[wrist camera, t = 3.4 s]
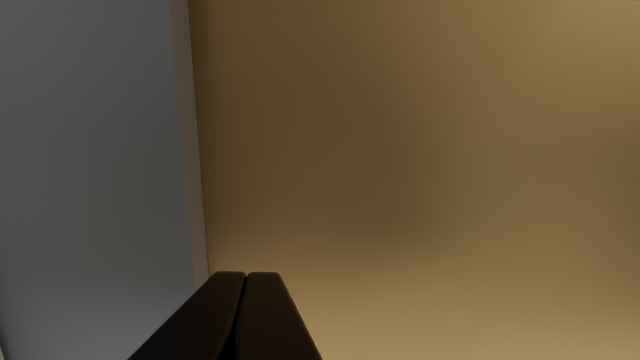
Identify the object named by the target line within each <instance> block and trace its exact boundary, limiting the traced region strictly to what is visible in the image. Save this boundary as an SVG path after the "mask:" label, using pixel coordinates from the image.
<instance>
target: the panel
mask: <svg viewBox="0 0 640 360" xmlns="http://www.w3.org/2000/svg"><path fill="white" fill-rule="evenodd" d="M0 360H4V357H3V354H2V351H1V347H0Z"/></svg>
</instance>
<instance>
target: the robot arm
mask: <svg viewBox="0 0 640 360" xmlns="http://www.w3.org/2000/svg"><path fill="white" fill-rule="evenodd" d="M127 360H323V359H322V357H321V355H320V353H319V351H318V349H317V347H316V345H315V343H314V341H313V339H312V337H311V335H310V333H309V331H308V330H307V328H306V326H305V324H304V322H303V320H302V318H301V316H300V314H299V312H298V310H297V308H296V306H295V304H294V302H293V300H292V298H291V296H290V294H289V292H288V290H287V288H286V286H285V284H284V282H283V280H282V278H281V276H280V275H279V274H278V273H276V272H251V273H249V274H248V276H247V275H246V273H244V272H235V271H218V272H216V273H214V274H213V275H212V276H211V277H210V278H209V279H208V280H207V281H206V282H205V283H204V284H203V285H202V286H201V287H200V288H199V289H198V290H197V291H196V292H195V293H193V294H192V295H191V296H190V297H189V298H188V299H187V300H186V301H185V302H184V303H183V304H182V305H181V306H180V307H179V308H178V309H177V310H176V311H175V312H174V313H173V314H172V315H171V316H170V317H169V318H168V319H167V320H166V321H165V322H164V323H163V324H162V325H161V326H160V327H159V328H158V329H157V330H156V331H155V332H154V333H153V334H152V335H151V336H150V337H149V338H148V339H147V340H146V341H145V342H144V343H143V344H142V345H141V346H140V347H139V348H138V349H137V350H136V351H135V352H134V353H133V354H132V355H131V356H130V357H129V358H128V359H127Z"/></svg>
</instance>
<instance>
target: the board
mask: <svg viewBox="0 0 640 360" xmlns="http://www.w3.org/2000/svg"><path fill="white" fill-rule="evenodd" d="M208 279H209V272H208V258H207V245H206V232H205V219H204V206H203V193H202V180H201V167H200V154H199V141H198V128H197V115H196V102H195V89H194V75H193V62H192V49H191V36H190V23H189V10H188V0H0V347H1V351H2V354H3V357H4V360H127V359H128V358H129V357H130V356H131V355H132V354H133V353H134V352H135V351H136V350H137V349H138V348H139V347H140V346H141V345H142V344H143V343H144V342H145V341H146V340H147V339H148V338H149V337H150V336H151V335H152V334H153V333H154V332H155V331H156V330H157V329H158V328H159V327H160V326H161V325H162V324H163V323H164V322H165V321H166V320H167V319H168V318H169V317H170V316H171V315H172V314H173V313H174V312H175V311H176V310H177V309H178V308H179V307H180V306H181V305H182V304H183V303H184V302H185V301H186V300H187V299H188V298H189V297H190V296H191V295H192V294H193V293H195V292H196V291H197V290H198V289H199V288H200V287H201V286H202V285H203V284H204V283H205V282H206V281H207V280H208Z"/></svg>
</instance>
